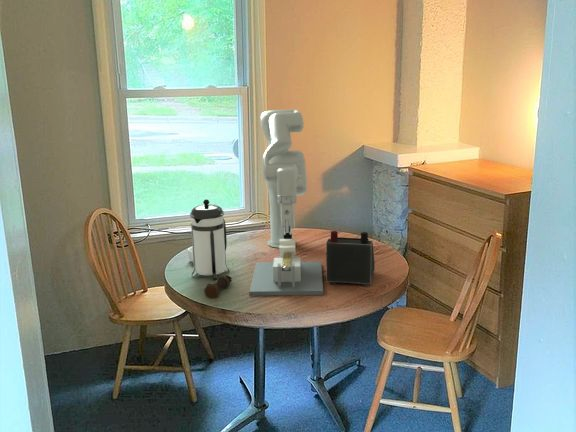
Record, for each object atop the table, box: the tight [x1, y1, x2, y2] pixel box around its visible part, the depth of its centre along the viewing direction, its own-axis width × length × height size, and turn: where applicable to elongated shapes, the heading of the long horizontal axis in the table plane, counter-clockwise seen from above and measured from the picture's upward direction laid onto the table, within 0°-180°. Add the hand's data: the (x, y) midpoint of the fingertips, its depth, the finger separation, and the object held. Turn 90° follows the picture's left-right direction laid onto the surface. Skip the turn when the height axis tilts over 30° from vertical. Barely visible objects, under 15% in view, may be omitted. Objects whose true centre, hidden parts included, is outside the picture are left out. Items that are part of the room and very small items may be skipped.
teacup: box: [187, 246, 194, 263], centre depth 244 cm, size 10×8×5 cm
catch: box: [278, 238, 297, 258], centre depth 225 cm, size 6×6×11 cm
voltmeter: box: [325, 230, 376, 287], centre depth 218 cm, size 16×16×20 cm
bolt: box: [203, 274, 233, 300], centre depth 211 cm, size 6×5×15 cm
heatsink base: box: [248, 257, 324, 297], centre depth 220 cm, size 31×26×10 cm
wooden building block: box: [282, 253, 291, 271], centre depth 216 cm, size 15×3×11 cm
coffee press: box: [189, 199, 230, 282], centre depth 225 cm, size 17×16×30 cm
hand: (287, 243), depth 234 cm, fingers closed
